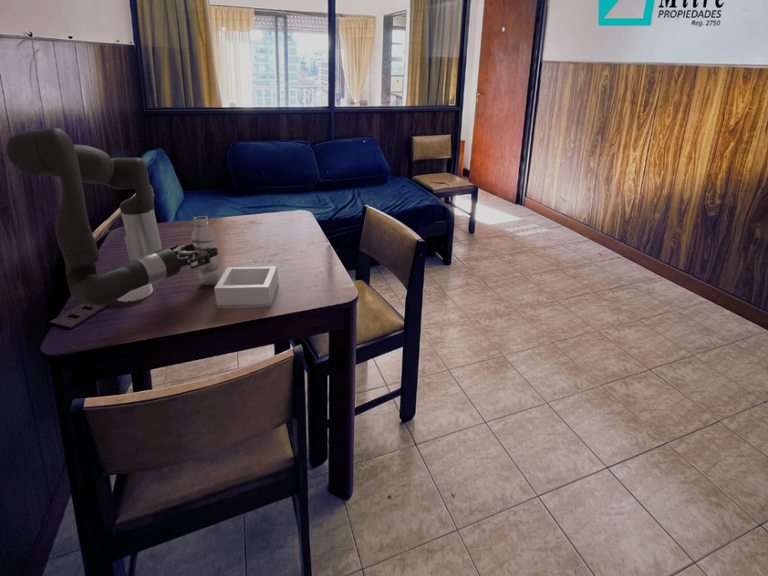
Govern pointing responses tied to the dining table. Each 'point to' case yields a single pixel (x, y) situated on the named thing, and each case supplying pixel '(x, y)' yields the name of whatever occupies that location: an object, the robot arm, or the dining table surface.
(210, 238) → the plastic bottle
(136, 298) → the coaster
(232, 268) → the bin
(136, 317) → the dining table surface
